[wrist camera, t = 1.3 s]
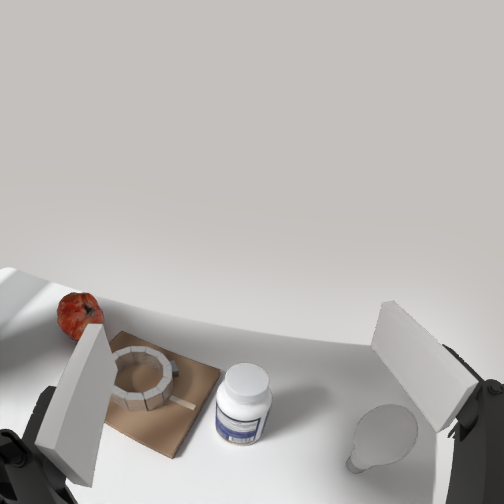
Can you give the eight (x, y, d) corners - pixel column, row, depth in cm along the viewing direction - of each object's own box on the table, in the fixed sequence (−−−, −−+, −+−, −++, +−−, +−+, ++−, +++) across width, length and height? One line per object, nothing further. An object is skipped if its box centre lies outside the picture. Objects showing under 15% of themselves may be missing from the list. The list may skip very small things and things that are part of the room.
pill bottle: (237, 402, 31) (245, 348, 27) (271, 427, 28) (289, 377, 24) (205, 427, 27) (204, 376, 23) (241, 455, 24) (251, 412, 20)
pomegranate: (62, 349, 35) (79, 346, 30) (44, 306, 35) (57, 293, 30) (96, 333, 41) (121, 326, 36) (80, 293, 41) (101, 278, 36)
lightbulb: (333, 441, 26) (371, 386, 22) (379, 449, 25) (427, 396, 20) (323, 484, 21) (367, 442, 16) (374, 491, 19) (431, 448, 15)
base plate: (64, 394, 26) (61, 389, 25) (123, 335, 38) (121, 329, 38) (172, 458, 22) (171, 455, 22) (220, 374, 35) (220, 369, 34)
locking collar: (94, 390, 27) (89, 378, 26) (131, 350, 35) (128, 337, 34) (152, 422, 25) (148, 411, 24) (184, 374, 33) (184, 361, 32)
